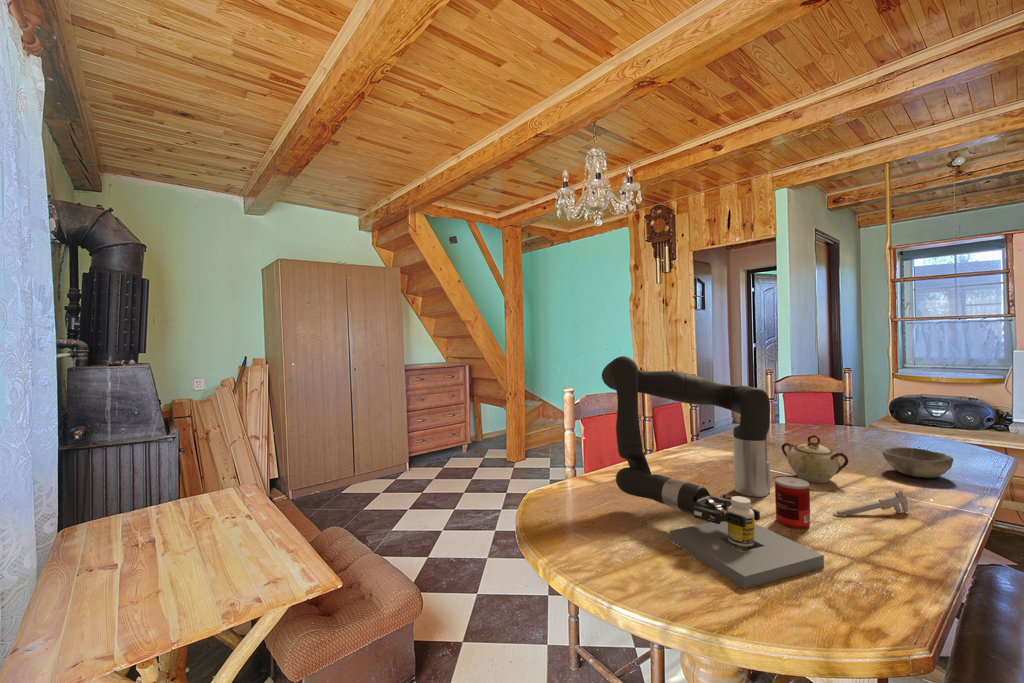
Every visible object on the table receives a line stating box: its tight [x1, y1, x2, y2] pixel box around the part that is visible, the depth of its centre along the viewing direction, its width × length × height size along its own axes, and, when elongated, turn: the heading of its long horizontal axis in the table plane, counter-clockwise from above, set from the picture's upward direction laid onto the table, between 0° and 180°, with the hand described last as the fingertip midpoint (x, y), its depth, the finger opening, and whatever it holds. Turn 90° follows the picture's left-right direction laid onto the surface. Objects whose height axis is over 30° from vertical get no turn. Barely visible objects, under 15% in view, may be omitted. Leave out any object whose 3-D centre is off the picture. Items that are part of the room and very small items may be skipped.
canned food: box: [774, 476, 811, 530], centre depth 115 cm, size 8×8×11 cm
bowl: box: [881, 446, 954, 479], centre depth 149 cm, size 18×18×8 cm
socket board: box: [669, 522, 825, 590], centre depth 100 cm, size 22×22×2 cm
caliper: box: [832, 490, 909, 517], centre depth 119 cm, size 20×1×6 cm, turn 92°
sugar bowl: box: [781, 434, 849, 484], centre depth 148 cm, size 20×15×15 cm
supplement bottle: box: [727, 495, 755, 548], centre depth 100 cm, size 5×5×10 cm
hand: (752, 519), depth 98 cm, fingers closed on supplement bottle, 5 cm apart
